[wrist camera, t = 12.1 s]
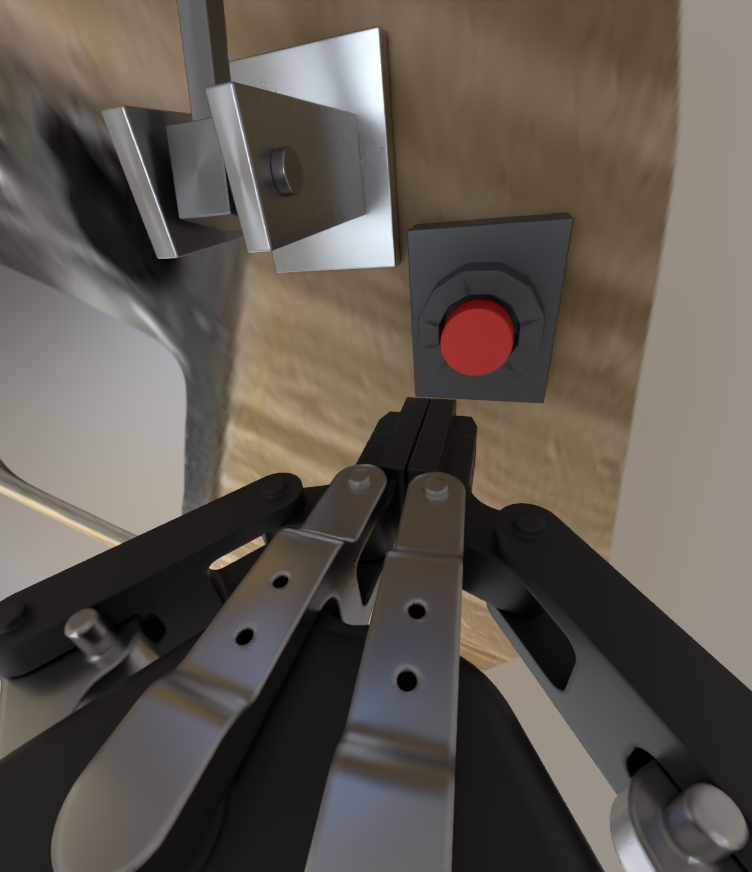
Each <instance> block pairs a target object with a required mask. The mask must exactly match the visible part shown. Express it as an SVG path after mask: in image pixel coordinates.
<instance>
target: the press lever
mask: <svg viewBox="0 0 752 872" xmlns="http://www.w3.org/2000/svg"><path fill="white" fill-rule="evenodd" d="M177 6H178V14H179V22H180V29H181V37H182V45H183V52H184V60H185V68H186V75H187V83H188V91H189V98H190V106H191V114H192V121H190V122H185V123H179V124H174V125H169V126H166V133H167V140H168V147H169V154H170V160H171V167H172V174H173V181H174V187H175V194H176V201H177V207H178V214H179V218H180V219H182V220H185V221H189V222H192V223H196V224H199V225H203V226H206V227H210V228H213V229H217V230H220V231H232V230H242V229H241V225H240V221H239V218H238V214H237V210H236V206H235V202H234V199H233V195H232V191H231V187H230V184H229V180H228V176H227V172H226V168H225V165H224V161H223V157H222V153H221V149H220V146H219V142H218V138H217V134H216V131H215V127H214V123H213V119H212V115H211V112H210V108H209V104H208V100H207V96H206V93H205V88H206V87H207V86H211V85H216V84H220V83H225V82H229V81H231V73H230V63H229V53H228V43H227V34H226V24H225V14H224V4H223V0H177Z"/></svg>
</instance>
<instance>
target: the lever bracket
mask: <svg viewBox="0 0 752 872" xmlns="http://www.w3.org/2000/svg"><path fill="white" fill-rule="evenodd" d="M229 63H230V73H231V79H232V81H229V82H225V83H220V84H216V85H211V86H207V87H206V88H205V93H206V96H207V100H208V104H209V108H210V112H211V115H212V119H213V123H214V127H215V131H216V134H217V138H218V142H219V146H220V149H221V153H222V157H223V161H224V165H225V168H226V172H227V176H228V180H229V184H230V187H231V191H232V195H233V199H234V202H235V206H236V210H237V214H238V218H239V221H240V225H241V229H242V230H232V231H220V230H217V229H213V228H210V227H206V226H203V225H199V224H196V223H192V222H189V221H185V220H182V219H180V218H179V214H178V207H177V201H176V194H175V187H174V181H173V174H172V167H171V160H170V154H169V147H168V140H167V133H166V126H169V125H174V124H179V123H185V122H190V121H192V114H189V113H181V112H174V111H166V110H158V109H150V108H142V107H134V106H126V105H121V106H116V107H112V108H107V109H103V110H102V111H101V114H102V116H103V119H104V121H105V124H106V127H107V129H108V132H109V134H110V137H111V139H112V142H113V145H114V147H115V150H116V152H117V155H118V157H119V160H120V163H121V165H122V168H123V170H124V173H125V176H126V178H127V181H128V183H129V186H130V188H131V191H132V194H133V196H134V199H135V201H136V204H137V207H138V209H139V212H140V214H141V217H142V219H143V222H144V225H145V227H146V230H147V232H148V235H149V238H150V240H151V243H152V245H153V248H154V250H155V253H156V256H157V258H159V259H167V258H179V257H182V256H185V255H189V254H192V253H195V252H199V251H202V250H205V249H209V248H212V247H215V246H219V245H222V244H225V243H228V242H232V241H235V240H238V239H242V238H244V240H245V244H246V248H247V251H248V252H249V253H257V252H272V256H273V260H274V265H275V269H276V272H277V273H283V272H304V271H325V270H346V269H367V268H388V267H396V266H397V265H398V264H399V263H400V248H399V231H398V215H397V199H396V183H395V166H394V150H393V134H392V117H391V101H390V85H389V68H388V52H387V36H386V32H385V31H384V30H383V29H382V28H381V27H380V26H375V27H371V28H367V29H363V30H359V31H354V32H350V33H346V34H342V35H338V36H334V37H329V38H325V39H321V40H317V41H313V42H308V43H304V44H300V45H296V46H292V47H288V48H283V49H279V50H275V51H271V52H267V53H263V54H258V55H254V56H250V57H246V58H242V59H237V60H233V61H229Z"/></svg>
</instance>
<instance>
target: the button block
mask: <svg viewBox="0 0 752 872" xmlns="http://www.w3.org/2000/svg"><path fill="white" fill-rule="evenodd" d="M572 226H573V217H572V216H571V215H570V214H569V213H557V214H544V215H532V216H519V217H507V218H494V219H482V220H469V221H456V222H444V223H431V224H419V225H415V226H414V227H412V228H411V229H409V230H408V231H407V237H408V256H409V276H410V296H411V316H412V336H413V356H414V376H415V396H416V397H435V398H454V399H473V400H492V401H511V402H531V403H544V397H545V391H546V385H547V379H548V373H549V367H550V360H551V354H552V348H553V342H554V336H555V330H556V324H557V318H558V311H559V305H560V299H561V293H562V287H563V281H564V275H565V268H566V262H567V256H568V250H569V244H570V238H571V232H572ZM473 299H488V300H492V301H495V302H497V303H498V304H500V305H501V306H503V307H504V308H505V309H506V310H507V312H508V313H509V315H510V316H511V319H512V322H513V328H514V332H513V348H512V351H511V354H510V356H509V358H508V359H507V361H506V362H505V363H504V364H503V365H502V366H501V367H500V368H498V369H497V370H495V371H493V372H491V373H489V374H485V375H480V376H471V375H466V374H463V373H460V372H458V371H457V370H455V369H454V368H452V367H451V366H450V365H449V364H448V363H447V361H446V360H445V358H444V356H443V354H442V351H441V344H440V342H441V335H442V332H443V329H444V327H445V325H446V322H447V320H448V318H449V316H450V315H451V313H452V312H453V311H454V310H455V309H456V308H457V307H458V306H459V305H461V304H463V303H464V302H467V301H469V300H473Z"/></svg>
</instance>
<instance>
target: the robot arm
mask: <svg viewBox="0 0 752 872" xmlns="http://www.w3.org/2000/svg"><path fill="white" fill-rule="evenodd" d="M476 439H477V425H476V424H475V422H474V420H473V419H472V417H468V416H456V400H451V399H433V398H432V400H431V399H430V398H413V397H407V399H406V401H405V403H404V405H403V408H402V410H401V412H391V411H390V412H389V413H388V414H386V415H385V416H384V417H382V418H381V419H380V420H379V422H378V423H377V425H376V427H375V429H374V431H373V433H372V435H371V437H370V439H369V441H368V442H367V444H366V446H365V448H364V450H363V452H362V454H361V456H360V458H359V460H358V462H357V463H356V465H353V466H349V467H347V468H345V469H343V470H342V471H340V472H339V473H338V474H337V475H336V476H335V478H334V479H333V480H332V482H331V483H330V484H329V485H324V486H315V487H307V488H303V486H302V482H301V480H300V478H299V477H297V476H296V475H294V474H291V473H276V474H271V475H268V476H266V477H264V478H261V479H259V480H257V481H255V482H253V483H251V484H249V485H246V486H244V487H242V488H240V489H238V490H236V491H234V492H231V493H229V494H227V495H225V496H223V497H221V498H219V499H216V500H214V501H212V502H210V503H208V504H206V505H204V506H201V507H199V508H197V509H195V510H193V511H191V512H189V513H186V514H184V515H182V516H180V517H178V518H176V519H174V520H171V521H169V522H167V523H165V524H163V525H161V526H158V527H156V528H154V529H152V530H150V531H148V532H146V533H143V534H141V535H139V536H137V537H135V538H133V539H131V540H128V541H126V542H124V543H122V544H120V545H118V546H116V547H113V548H111V549H109V550H107V551H105V552H103V553H101V554H98V555H96V556H94V557H92V558H90V559H88V560H86V561H83V562H81V563H79V564H77V565H75V566H73V567H71V568H68V569H66V570H64V571H62V572H60V573H58V574H55V575H53V576H51V577H49V578H47V579H45V580H43V581H41V582H38V583H36V584H34V585H32V586H30V587H28V588H25V589H24V590H21V591H19V592H17V593H15V594H13V595H11V596H9V597H7V598H5V599H4V600H2V601H0V680H1V692H0V872H605V871H604V870H603V868H602V866H601V865H600V863H599V861H598V859H597V857H596V856H595V854H594V852H593V850H592V849H591V847H590V845H589V843H588V842H587V840H586V838H585V836H584V835H583V833H582V831H581V829H580V828H579V826H578V824H577V822H576V821H575V819H574V817H573V815H572V814H571V812H570V810H569V808H568V807H567V805H566V803H565V802H564V800H563V798H562V796H561V794H560V793H559V791H558V789H557V787H556V786H555V784H554V782H553V780H552V779H551V777H550V775H549V773H548V772H547V770H546V769H545V766H544V765H543V763H542V761H541V760H540V758H539V756H538V754H537V752H536V751H535V749H534V747H533V745H532V744H531V742H530V740H529V738H528V737H527V735H526V733H525V731H524V730H523V728H522V726H521V724H520V723H519V721H518V719H517V717H516V716H515V714H514V712H513V711H512V709H511V707H510V706H509V704H508V702H507V701H506V700H505V698H504V697H503V695H502V694H501V693H500V691H499V690H498V689H497V687H496V686H495V685H494V684H493V683H492V682H491V681H490V680H489V679H488V677H486V675H485V674H484V673H482V672H481V671H480V670H479V669H478V668H477V667H476V666H475V665H473V664H472V663H470V662H469V661H468V660H466V659H465V658H463V657H462V656H460V629H461V603H462V590H464V591H466V592H468V593H470V594H472V595H474V596H476V597H478V598H480V599H482V600H483V601H485V602H486V603H487V607H488V610H489V612H490V613H491V615H492V617H493V618H494V619H495V621H496V622H497V624H498V625H499V627H500V628H501V629H502V631H503V632H504V634H505V635H506V637H507V638H508V639H509V641H510V642H511V644H512V645H513V647H514V648H515V649H516V651H517V652H518V654H519V655H520V657H521V658H522V659H523V661H524V662H525V664H526V665H527V667H528V668H529V669H530V671H531V672H532V674H533V675H534V676H535V678H536V679H537V681H538V682H539V684H540V685H541V687H542V688H543V689H544V691H545V692H546V694H547V695H548V697H549V698H550V699H551V701H552V702H553V704H554V705H555V707H556V708H557V709H558V711H559V712H560V714H561V715H562V717H563V718H564V719H565V721H566V722H567V724H568V725H569V726H570V728H571V729H572V731H573V732H574V734H575V735H576V737H577V738H578V739H579V741H580V742H581V744H582V745H583V747H584V748H585V749H586V751H587V752H588V754H589V755H590V757H591V758H592V759H593V761H594V762H595V764H596V765H597V767H598V768H599V769H600V771H601V772H602V774H603V775H604V777H605V778H606V779H607V781H608V782H609V784H610V785H611V787H612V788H613V789H614V791H615V792H616V794H617V797H616V798H615V800H614V802H613V804H612V807H611V813H610V831H611V837H612V841H613V844H614V848H615V851H616V854H617V856H618V859H619V861H620V863H621V865H622V867H623V869H624V871H625V872H752V691H751V690H750V689H749V688H748V687H746V686H745V685H744V684H743V683H742V682H741V681H740V680H739V679H737V678H736V677H735V676H734V675H733V674H732V673H731V672H730V671H729V670H727V669H726V668H725V667H724V666H723V665H722V664H720V663H719V662H718V661H717V660H716V659H715V658H714V657H713V656H712V655H711V654H710V653H708V652H707V651H706V650H705V649H704V648H703V647H702V646H701V645H699V644H698V643H697V642H696V641H695V640H694V639H693V638H692V637H691V636H689V635H688V634H687V633H686V632H685V631H684V630H683V629H681V628H680V627H679V626H678V625H677V624H676V623H675V622H674V621H673V620H672V619H670V618H669V617H668V616H667V615H666V614H665V613H664V612H663V611H661V610H660V609H659V608H658V607H657V606H656V605H655V604H654V603H653V602H651V601H650V600H649V599H648V598H647V597H646V596H645V595H644V594H642V593H641V592H640V591H639V590H638V589H637V588H636V587H635V586H634V585H632V584H631V583H630V582H629V581H628V580H627V579H626V578H625V577H623V576H622V575H621V574H620V573H619V572H618V571H617V570H615V569H614V568H613V567H612V566H611V565H610V564H609V563H608V562H607V561H606V560H605V559H603V558H602V557H601V556H600V555H599V554H598V553H597V552H596V551H594V550H593V549H592V548H591V547H590V546H589V545H588V544H587V543H586V542H584V541H583V540H582V539H581V538H580V537H579V536H578V535H577V534H575V533H574V532H573V531H572V530H571V529H570V528H569V527H568V526H567V525H565V524H564V523H563V522H562V521H561V520H560V519H559V518H558V517H556V516H555V515H554V514H553V513H551V512H550V511H548V510H547V509H544V508H542V507H540V506H536V505H532V504H525V503H518V504H512V505H509V506H506V507H504V508H503V509H501V510H500V511H499V510H497V509H494V508H491V507H489V506H487V505H485V504H483V503H482V502H480V501H479V500H478V499H477V498H476V497H475V496H474V495H473V494H472V492H471V491H472V484H473V476H474V469H475V456H476ZM260 536H262V537H263V540H264V543H265V545H264V546H262V547H260V548H258V549H257V550H255V551H253V552H251V553H249V554H247V555H246V556H244V557H242V558H240V559H238V560H237V561H235V562H233V563H231V564H229V565H227V566H226V567H224V568H221V569H218V570H212V569H209V566H210V565H211V564H212V563H213V562H214V561H215V560H217V559H219V558H220V557H222V556H224V555H226V554H228V553H230V552H232V551H234V550H235V549H237V548H239V547H241V546H243V545H245V544H247V543H248V542H250V541H252V540H254V539H256V538H258V537H260ZM395 541H396V542H395ZM394 544H395V546H394ZM373 607H374V608H373ZM372 609H373V612H372ZM371 612H372V617H371V621H370V625H368V622H369V618H370V614H371Z"/></svg>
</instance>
